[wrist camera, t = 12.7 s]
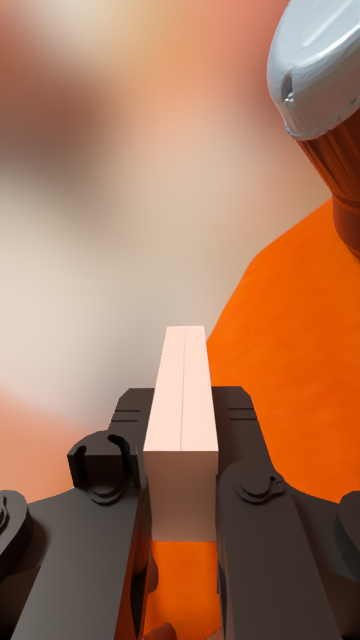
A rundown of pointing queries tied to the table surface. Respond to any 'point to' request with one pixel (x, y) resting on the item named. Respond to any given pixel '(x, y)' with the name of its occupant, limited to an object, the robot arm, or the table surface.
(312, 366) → the table surface
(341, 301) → the table surface
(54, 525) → the robot arm
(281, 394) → the table surface
